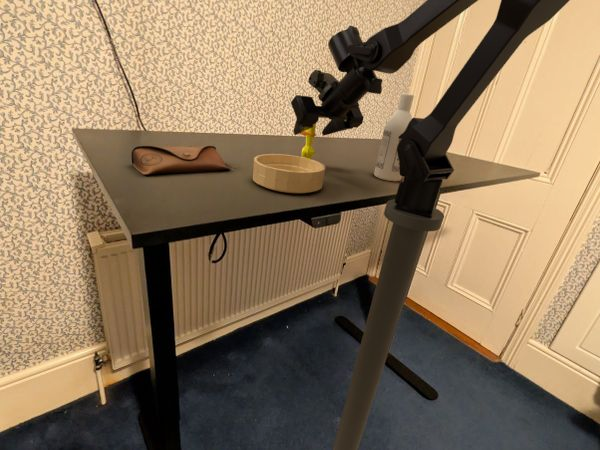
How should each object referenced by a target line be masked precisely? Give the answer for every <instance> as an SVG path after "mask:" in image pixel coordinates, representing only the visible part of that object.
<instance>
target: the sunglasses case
mask: <svg viewBox="0 0 600 450" xmlns="http://www.w3.org/2000/svg"><path fill="white" fill-rule="evenodd" d="M130 154H131V156H130V157H131V164H132V167H133V168H134V169H135V170H136V171H137V172H138V173H139V174H141V175H145V176H149V175H151V176H152V175H158V174H182V173H186V174H187V173H208V172H209V173H210V172H218V171H224V170H230V169H231V167H229V166H227V165H226V162H225V161H224V160H223V158H222V157H221V155H220V154H219V152H218V151H217V148H216V147H215V146H214V145H204V146H155V145H138V146H135V147H134V148H132V150H131V153H130Z"/></svg>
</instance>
